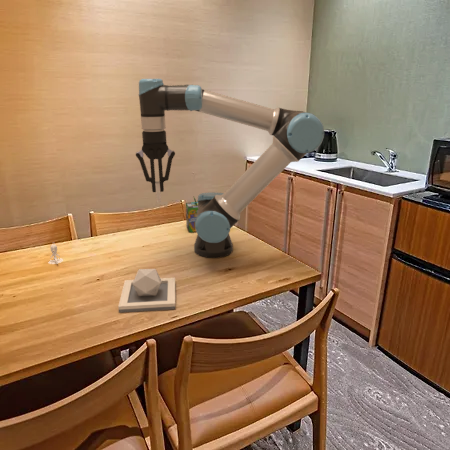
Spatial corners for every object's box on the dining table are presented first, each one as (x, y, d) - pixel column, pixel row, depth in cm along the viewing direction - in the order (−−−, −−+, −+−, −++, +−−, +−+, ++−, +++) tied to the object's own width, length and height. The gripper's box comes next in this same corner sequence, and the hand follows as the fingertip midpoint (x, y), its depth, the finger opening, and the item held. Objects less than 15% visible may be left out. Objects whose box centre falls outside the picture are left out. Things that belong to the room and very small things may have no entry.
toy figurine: (62, 257, 147) (59, 238, 144) (66, 265, 140) (63, 246, 138) (46, 260, 144) (43, 241, 142) (50, 268, 138) (47, 249, 135)
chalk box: (209, 231, 173) (208, 199, 168) (188, 233, 171) (187, 200, 166) (205, 224, 181) (205, 193, 176) (186, 225, 180) (185, 194, 175)
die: (149, 306, 114) (166, 277, 114) (124, 291, 114) (141, 262, 114) (153, 301, 122) (168, 274, 123) (129, 287, 122) (145, 260, 122)
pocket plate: (175, 283, 128) (175, 277, 127) (175, 309, 113) (175, 303, 112) (125, 285, 126) (124, 280, 125) (118, 312, 111) (118, 306, 111)
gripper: (173, 128, 129) (177, 197, 137) (133, 129, 127) (139, 199, 135) (174, 130, 122) (178, 203, 130) (132, 132, 120) (138, 205, 128)
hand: (158, 201), depth 133 cm, fingers closed
